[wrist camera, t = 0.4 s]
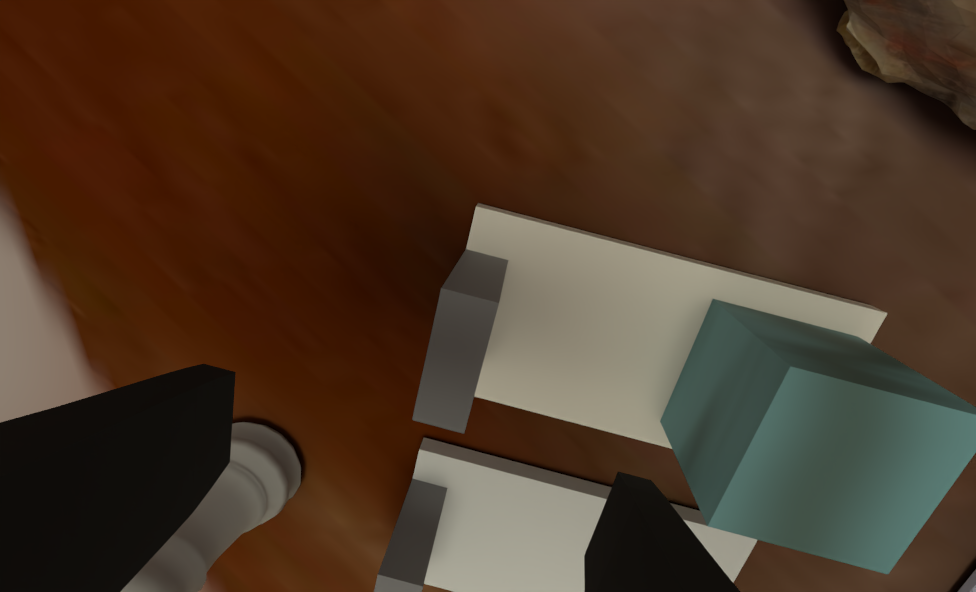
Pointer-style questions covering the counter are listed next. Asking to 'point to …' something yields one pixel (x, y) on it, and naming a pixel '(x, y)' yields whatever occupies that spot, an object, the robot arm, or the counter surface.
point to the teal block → (813, 437)
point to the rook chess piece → (226, 510)
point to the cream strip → (587, 324)
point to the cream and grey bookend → (508, 527)
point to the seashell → (918, 47)
